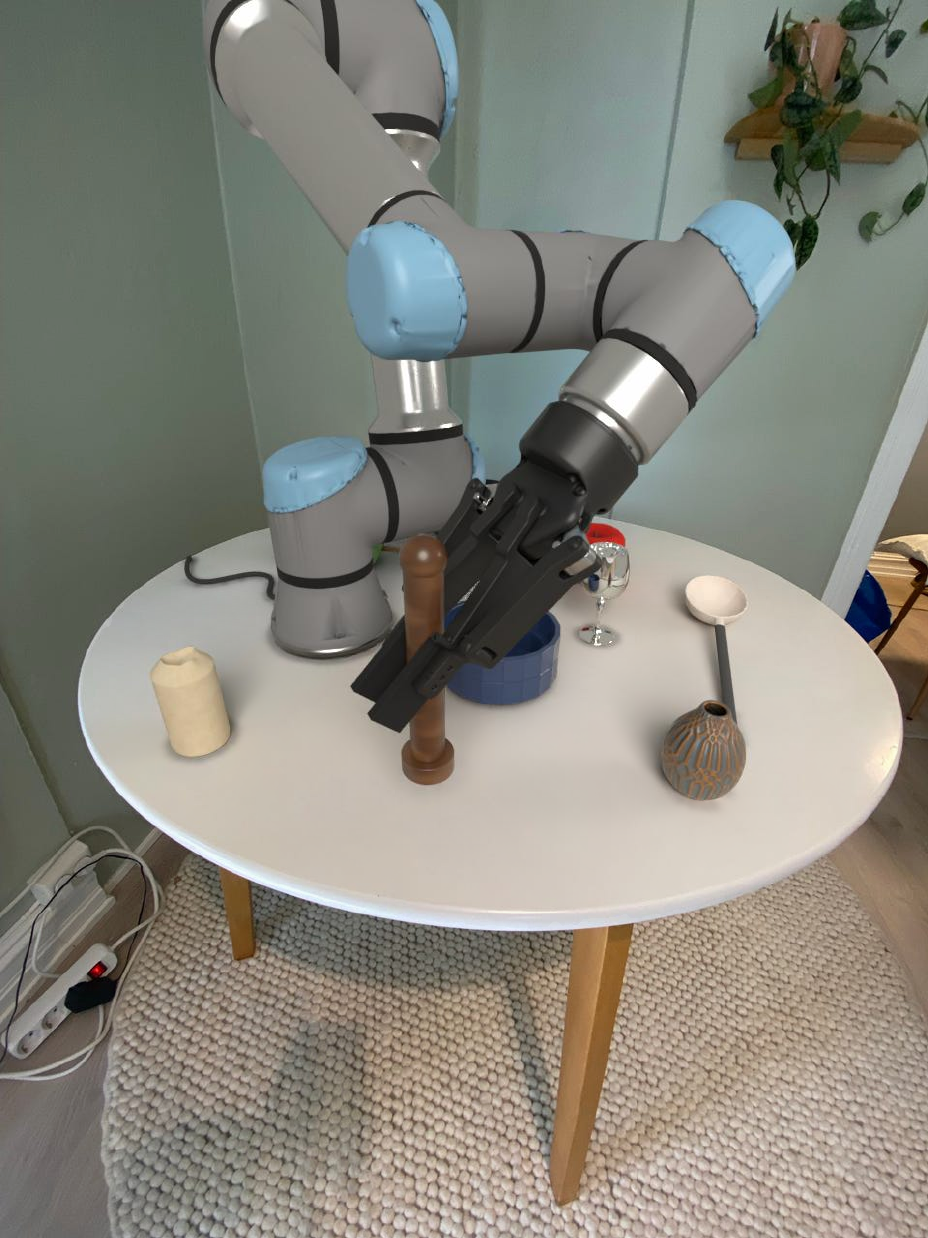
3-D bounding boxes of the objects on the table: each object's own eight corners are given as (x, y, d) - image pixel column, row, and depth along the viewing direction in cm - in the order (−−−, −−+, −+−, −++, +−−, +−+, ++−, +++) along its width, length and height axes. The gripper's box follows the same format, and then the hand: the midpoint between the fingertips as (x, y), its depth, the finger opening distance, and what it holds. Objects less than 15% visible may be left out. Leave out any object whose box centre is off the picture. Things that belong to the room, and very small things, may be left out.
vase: (682, 820, 51) (704, 742, 47) (641, 764, 57) (657, 690, 52) (751, 804, 53) (778, 727, 48) (704, 751, 58) (725, 678, 54)
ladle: (737, 599, 84) (746, 573, 82) (760, 771, 61) (774, 743, 58) (679, 590, 86) (686, 565, 83) (680, 754, 63) (689, 726, 60)
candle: (212, 713, 63) (191, 632, 58) (242, 735, 60) (222, 652, 55) (161, 740, 59) (133, 656, 54) (190, 766, 56) (164, 679, 51)
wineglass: (619, 650, 74) (634, 562, 68) (572, 645, 75) (582, 557, 69) (618, 626, 79) (632, 542, 72) (574, 622, 80) (584, 538, 73)
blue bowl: (416, 689, 67) (414, 640, 63) (468, 632, 77) (468, 587, 74) (531, 724, 62) (536, 673, 58) (570, 658, 72) (575, 611, 69)
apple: (621, 593, 87) (629, 543, 83) (560, 588, 88) (565, 539, 84) (618, 567, 94) (625, 520, 90) (561, 563, 95) (566, 516, 92)
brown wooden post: (392, 775, 45) (376, 541, 35) (418, 742, 48) (410, 518, 38) (439, 792, 44) (436, 554, 34) (462, 758, 47) (466, 529, 37)
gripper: (711, 505, 36) (463, 801, 37) (555, 443, 47) (372, 670, 49) (661, 422, 31) (378, 768, 32) (501, 376, 42) (299, 631, 44)
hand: (374, 708), depth 41 cm, fingers closed on brown wooden post, 3 cm apart
